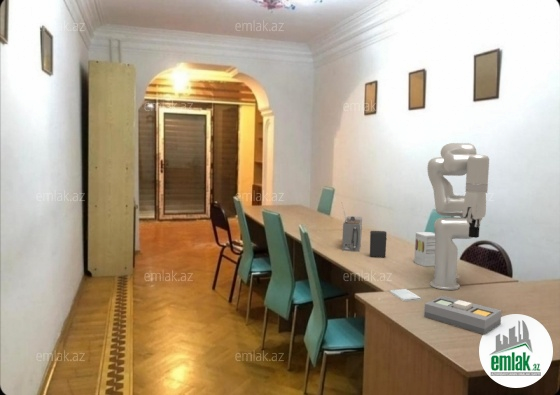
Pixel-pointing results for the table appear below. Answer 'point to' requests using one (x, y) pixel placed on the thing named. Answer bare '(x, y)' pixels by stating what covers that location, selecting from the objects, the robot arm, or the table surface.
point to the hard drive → (405, 295)
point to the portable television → (352, 233)
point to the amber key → (482, 313)
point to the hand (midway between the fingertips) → (473, 236)
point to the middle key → (462, 305)
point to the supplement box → (425, 249)
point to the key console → (463, 315)
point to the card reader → (378, 244)
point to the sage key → (444, 302)
